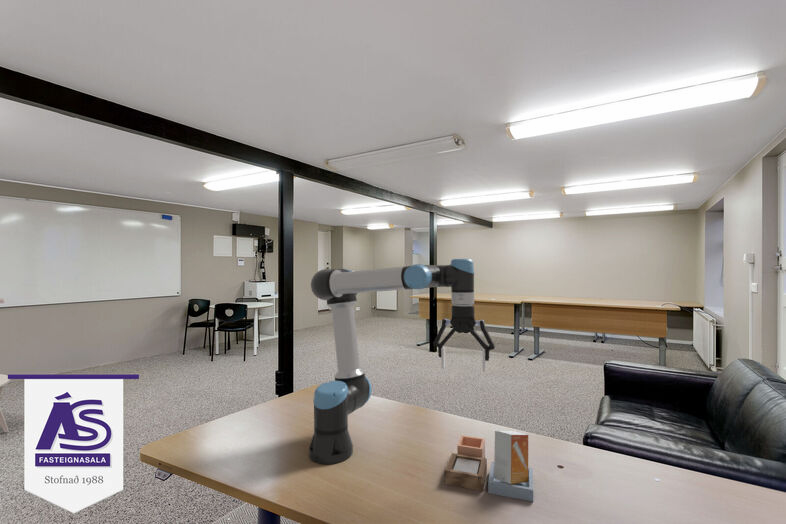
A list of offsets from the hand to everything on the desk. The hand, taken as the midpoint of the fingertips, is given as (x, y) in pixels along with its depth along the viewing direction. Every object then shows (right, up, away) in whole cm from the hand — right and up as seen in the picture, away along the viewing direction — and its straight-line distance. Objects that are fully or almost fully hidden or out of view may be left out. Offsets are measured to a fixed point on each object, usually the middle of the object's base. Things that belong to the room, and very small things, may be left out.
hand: (463, 368), depth 123 cm
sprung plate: (-1, -28, -10) cm, 30 cm away
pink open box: (+3, -31, 0) cm, 31 cm away
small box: (+11, -29, -15) cm, 34 cm away
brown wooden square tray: (-1, -31, -10) cm, 32 cm away
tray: (+11, -30, -14) cm, 35 cm away
